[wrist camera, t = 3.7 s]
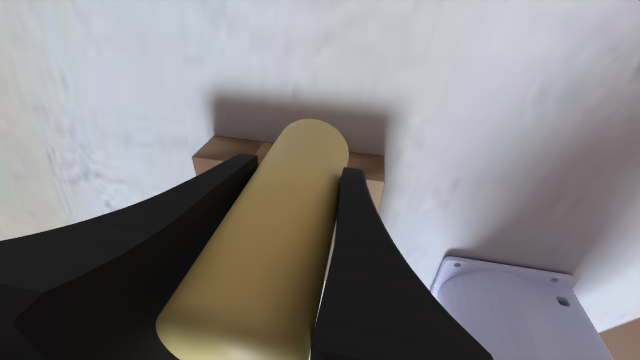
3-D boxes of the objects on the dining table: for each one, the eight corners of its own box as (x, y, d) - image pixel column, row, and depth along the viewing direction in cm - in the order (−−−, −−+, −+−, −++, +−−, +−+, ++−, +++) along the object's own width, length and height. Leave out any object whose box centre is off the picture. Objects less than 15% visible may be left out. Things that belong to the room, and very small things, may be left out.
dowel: (352, 123, 11) (308, 324, 5) (344, 188, 13) (305, 401, 6) (275, 114, 12) (135, 289, 5) (278, 178, 13) (174, 371, 7)
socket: (384, 156, 20) (384, 181, 17) (365, 257, 25) (363, 287, 23) (213, 136, 21) (191, 157, 19) (232, 236, 27) (217, 262, 25)
